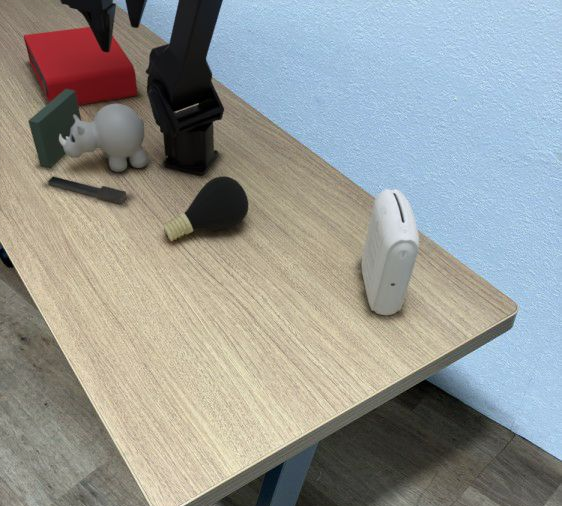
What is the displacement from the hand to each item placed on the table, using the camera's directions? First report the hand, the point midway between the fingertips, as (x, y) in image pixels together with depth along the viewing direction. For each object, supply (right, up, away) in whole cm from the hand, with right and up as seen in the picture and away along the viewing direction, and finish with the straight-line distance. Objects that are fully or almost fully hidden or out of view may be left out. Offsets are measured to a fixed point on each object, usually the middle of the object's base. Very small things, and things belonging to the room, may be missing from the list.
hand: (120, 39), depth 91 cm
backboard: (-9, -16, +2) cm, 18 cm away
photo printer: (+36, -39, -13) cm, 55 cm away
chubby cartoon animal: (-2, -18, +1) cm, 19 cm away
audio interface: (-11, +2, +16) cm, 19 cm away
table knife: (-4, -24, -4) cm, 24 cm away
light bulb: (+13, -30, -7) cm, 33 cm away
